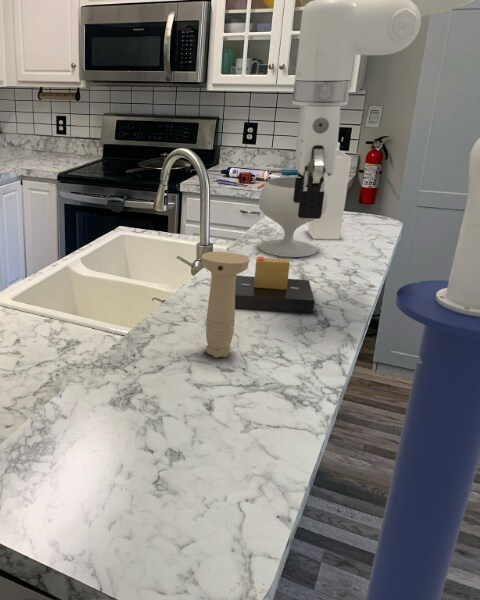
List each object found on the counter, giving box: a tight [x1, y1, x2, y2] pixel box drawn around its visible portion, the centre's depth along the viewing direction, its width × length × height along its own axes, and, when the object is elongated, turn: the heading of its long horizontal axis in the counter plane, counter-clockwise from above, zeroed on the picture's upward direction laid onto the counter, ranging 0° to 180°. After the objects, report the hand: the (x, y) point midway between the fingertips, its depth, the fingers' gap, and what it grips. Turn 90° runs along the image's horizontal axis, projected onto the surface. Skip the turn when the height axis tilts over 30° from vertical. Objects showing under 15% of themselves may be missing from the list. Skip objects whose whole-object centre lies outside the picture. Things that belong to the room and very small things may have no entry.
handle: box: [200, 251, 250, 359], centre depth 88 cm, size 5×6×15 cm
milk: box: [307, 141, 352, 240], centre depth 141 cm, size 6×6×22 cm
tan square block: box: [254, 255, 291, 290], centre depth 107 cm, size 6×2×5 cm, turn 76°
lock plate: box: [235, 275, 315, 315], centre depth 109 cm, size 14×10×3 cm
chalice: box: [258, 176, 327, 258], centre depth 133 cm, size 14×14×15 cm
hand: (306, 209), depth 95 cm, fingers open, 9 cm apart
